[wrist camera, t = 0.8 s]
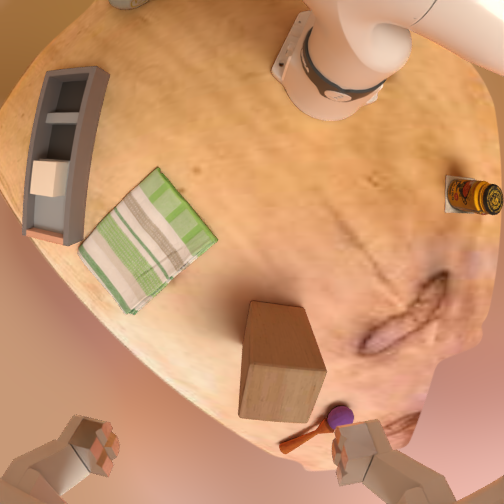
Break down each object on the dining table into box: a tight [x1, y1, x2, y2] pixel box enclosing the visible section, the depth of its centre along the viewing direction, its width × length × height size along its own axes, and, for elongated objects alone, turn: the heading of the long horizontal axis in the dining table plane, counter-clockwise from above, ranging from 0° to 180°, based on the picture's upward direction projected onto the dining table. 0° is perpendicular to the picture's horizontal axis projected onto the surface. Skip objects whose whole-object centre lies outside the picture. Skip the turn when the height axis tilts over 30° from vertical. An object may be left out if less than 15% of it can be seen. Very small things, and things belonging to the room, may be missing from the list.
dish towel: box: [78, 168, 218, 315], centre depth 50 cm, size 17×23×4 cm
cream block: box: [30, 161, 69, 197], centre depth 43 cm, size 6×6×4 cm
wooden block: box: [238, 301, 327, 423], centre depth 45 cm, size 10×10×20 cm
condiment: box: [445, 175, 503, 215], centre depth 42 cm, size 7×8×12 cm
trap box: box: [22, 66, 110, 246], centre depth 44 cm, size 32×12×6 cm, turn 169°
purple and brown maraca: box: [279, 406, 354, 454], centre depth 59 cm, size 6×6×20 cm
